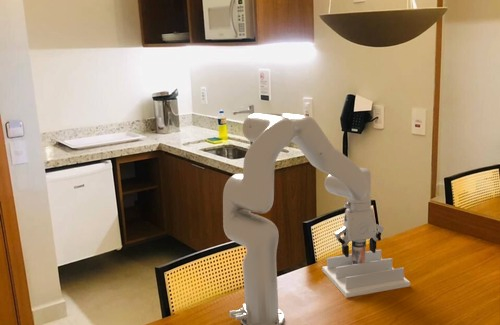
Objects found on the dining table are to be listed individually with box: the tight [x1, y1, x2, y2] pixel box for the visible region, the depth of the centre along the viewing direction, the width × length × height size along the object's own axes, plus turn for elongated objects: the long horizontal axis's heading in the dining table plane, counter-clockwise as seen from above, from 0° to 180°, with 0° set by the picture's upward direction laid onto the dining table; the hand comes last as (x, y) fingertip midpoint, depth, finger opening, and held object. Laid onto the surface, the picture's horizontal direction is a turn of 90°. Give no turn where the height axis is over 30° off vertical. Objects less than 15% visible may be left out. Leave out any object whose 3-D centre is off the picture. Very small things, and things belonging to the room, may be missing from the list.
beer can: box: [351, 239, 367, 264], centre depth 175 cm, size 5×5×12 cm
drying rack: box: [321, 249, 411, 299], centre depth 173 cm, size 22×20×6 cm
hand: (359, 253), depth 175 cm, fingers open, 9 cm apart
